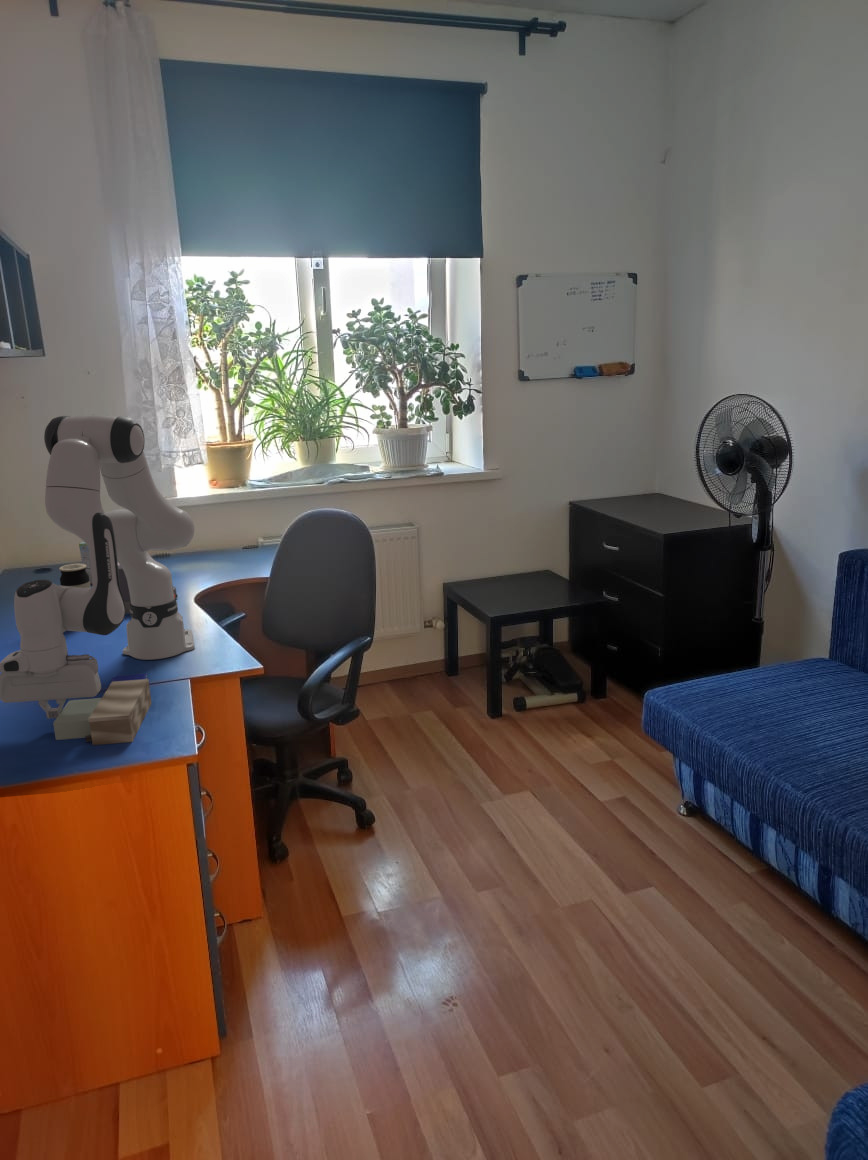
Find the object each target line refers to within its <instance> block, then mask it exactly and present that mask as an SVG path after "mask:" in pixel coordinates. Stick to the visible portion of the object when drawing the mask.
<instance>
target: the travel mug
mask: <svg viewBox="0 0 868 1160" xmlns="http://www.w3.org/2000/svg"><path fill="white" fill-rule="evenodd" d="M58 570H59V571H60V573H61V575H60V577H59V582H60V583H59V584H60V586H70V587H81V588H92V586H91V584H90V580H89V575H88V574H87V572H86V565H85V564H82V563H69V564H65V565H62V566H60V567H59V568H58Z"/></svg>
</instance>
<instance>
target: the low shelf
mask: <svg viewBox="0 0 868 1160" xmlns="http://www.w3.org/2000/svg"><path fill="white" fill-rule="evenodd" d="M110 683H111V682H110ZM110 683H109V685H110V686H108V688H107V689H106V691H105V692H104V694H103V695H102V697H100V698H101V700H100V702H99V703H98V705H97V706H96V708H95V709H94V711H93V712H92V714H91V716H90V717H89V724H90V731H91V735H88V736H85V738H84V739H85V742H86V743H89V742H91V744H92V746H95V745H96V746H97V745H99V746H100V745H111V744H122V743H124V744H125V743H133V742H134V739H135V737H136V736H137V734H138V731H139V729H140V728H141V725H142V723H143V722H144V720H145V718H146V715H147V713H148V712H149V710H150V707H151V706H152V697H151V696H152V695H151V689H150V680H149V678H146V679H141V680H127V681H114V682H112V683H111V684H110Z"/></svg>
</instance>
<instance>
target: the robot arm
mask: <svg viewBox="0 0 868 1160" xmlns="http://www.w3.org/2000/svg"><path fill="white" fill-rule="evenodd" d="M144 433H145V432H144V431H143V428H142V426H141V425H140V423H139V422H138V421H136V419H134V418H131V417H128V416H123V415H119V416H116V415H115V416H114V415H109V414H106V415H105V414H90V415H89V414H87V415H86V414H85V415H84V414H81V415H73V416H70V415H61V416H60V415H59V416H57V417H54V418H52V419H51V420H50V421H49V422H48V424H47V425H46V427H45V430H44V437H43V438H44V439H43V440H44V445H45V448H46V450H47V452H48V454H49V460H48V464H47V465H48V466H47V470H46V478H45V492H44V493H45V495H44V505H45V510H46V513H47V514H46V515H48V516H49V518H50V520H52V522H53V523H54V524H55V525H57V526H58V527H59V528H61V529H63V530H64V531H66V532H69V533H70V534H72V535H74V536H76V537H78V538H79V539H80V540H82V541H83V542H85V543H86V545H87V547H88V549H89V553H90V561H91V571H92V581H93V584H91V588H81V587H70V586H61V584H60V585H59V584H56V583H53V582H52V581H51V580H50V579H35V580H31V581H28V582H26V583H23V584H22V585H20V586H19V587H18V588H17V589H16V590H15V593H14V599H13V606H14V607H13V608H14V609H13V610H14V611H13V612H14V619H15V625H16V629H17V631H18V633H19V635H20V636H19V637H20V644H19V648H20V649H19V650H16V651H13V652H11V653H9V654H8V655H6V656H5V657H4V658H3V659H2V660H0V701H2V703H5V704H9V703H11V704H12V703H24V702H27V703H28V702H36V701H37V702H38V705H39V706H40V708H41V709H42V710H43V711H44V712H45V714H46V715H45V716H46V719H48V720H49V719H56V718H57V717H58V716H59V714H60V713H61V711H62V710H63V708H64V705H65V704H66V701H67V700H68V699H81V698H82V699H83V698H94V697H96V696H97V695H98V694H99V693H100V691H101V689H102V683H101V678H100V675H99V664H98V660H97V659H96V657H94V656H91V655H90V654H87V653H86V654H85V653H84V654H72V655H71V654H69V653H68V646H67V640H66V636H65V635H64V633H65V632H67V631H69V632H79V633H82V632H83V633H89V634H94V635H100V636H108V635H110V634H112V633H113V632H115V631H116V630H117V629H118V628H119V627H120V626H121V624H122V623H123V621H124V620H125V617H126V614H125V603H124V599H123V596H122V592H121V588H120V581H119V571H118V563H119V564H120V566H121V567H122V569H123V571H124V573H125V575H126V578H127V583H128V588H129V593H130V600H131V603H130V608H129V609H130V617H131V619H130V620H129V621H128V622H127V623H126V626H125V627H126V638H127V639H126V640H127V646H126V647H124V648H123V649H122V654H123V655H127V656H131V657H132V658H134V659H137V660H147V661H148V660H149V661H150V660H161V659H167V658H171V657H174V656H177V655H180V654H182V653H184V652H188V651H191V650H194V649H195V647H196V646H195V641H194V640H195V639H194V634H193V631H192V630H191V629H188V628H187V629H186V628H185V627H184V619H183V616H182V615H181V614H180V612H179V609H178V602H177V598H175V594H174V592H173V587H174V585H173V584H174V583H173V577H172V573H171V571H170V569H169V568H168V566H166V565H165V564H162V563H161V562H158V561H156V560H155V559H154V558H152V556H151V555H150V553H149V552H148V551H150V552H152V551H153V552H154V551H171V550H177V549H181V548H187V546H189V544H190V543H191V542H192V540H193V537H194V533H195V524H194V521H193V518H192V517H191V515H190V514H189V513H188V512H187V511H186V510H184V509H181V508H179V507H177V506H176V505H174V504H173V503H172V502H170V501H169V500H168V499H166V497H164V495H163V494H162V493H161V492H160V491H159V489H158V488H157V486H156V484H155V481H154V479H153V477H152V474H151V471H150V468H149V467H150V466H149V465H148V461H147V458H146V455H145V453H144V448H145V441H146V439H145V434H144ZM101 476H102V477H101ZM101 478H102V479H103V482H104V485H105V488H106V490H107V491H106V492H107V493H108V497H109V498H110V500H111V501H112V502H113V503H114V504H116V505H118V506H119V507H121V509H119V508H118V509H113V510H109V511H105V512H104V509H103V506H102V503H101V502H102V501H101ZM117 561H118V562H117ZM52 700H53V701H54V700H55V702H56V704H58V706H57V707H51V705H50V704H49V701H52Z"/></svg>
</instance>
